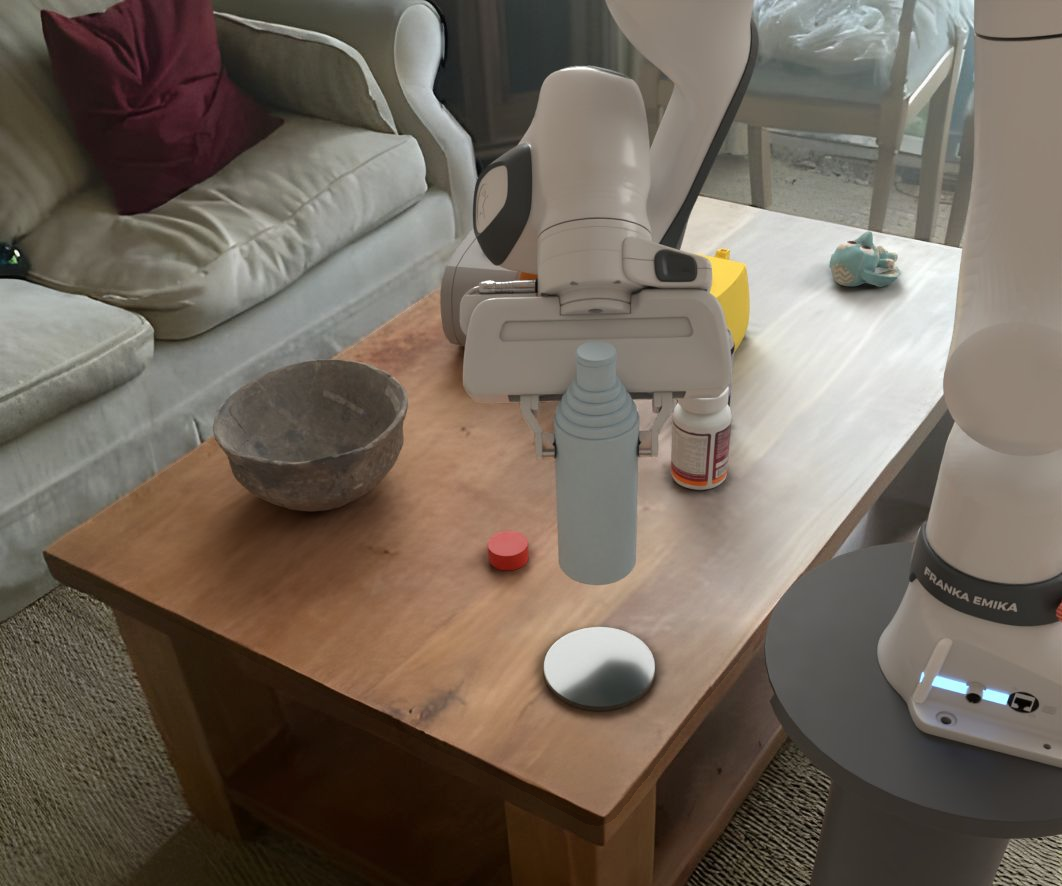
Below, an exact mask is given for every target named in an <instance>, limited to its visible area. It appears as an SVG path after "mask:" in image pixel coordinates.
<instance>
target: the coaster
mask: <svg viewBox="0 0 1062 886" xmlns="http://www.w3.org/2000/svg"><path fill="white" fill-rule="evenodd" d="M543 676H544V679H545V683H546V685H547V687H548V688H549V690H550V691H551V693H552V694H553V695H554V696H556V697H557V698H558V699H559V700H560V701H562V702H564V703H565V704H567V705H569V706H571V707H574V708H578V709H581V710H586V711H594V712H595V711H596V712H607V711H613V710H618V709H622V708H625V707H627V706H630V705H632V704H634V703H635V702H637V701H639V700H641V698H642V697H643V696H645V694H647V692H649V690H650V689H651V687H652V685H653V683H654V680H655V677H656V661H655V657H654V655H653V652H652V650H651V649H650V648H649V647H648V645H647V644H646V643H645V642H644V641H643V640H642V639H641V638H639V637H638V636H636V635H634V634H632V633H631V632H628V631H626V630H622V629H620V628H615V627H610V626H589V627H584V628H580V629H576V630H573V631H571V632H569V633H566V634H564V635H562V636H561V637H560V638H558V639H557V640H556V641H555V642H554V643H553V644H552V645H551V646H550V648H549V649H548V650H547V652H546V654H545V657H544V660H543Z"/></svg>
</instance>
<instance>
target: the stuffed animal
mask: <svg viewBox="0 0 1062 886" xmlns="http://www.w3.org/2000/svg"><path fill="white" fill-rule="evenodd" d="M873 237H874V235H873V232H872V231H871V230H870V231H869V230H868V231H865V232H864V233H862V234H861V235H860V236H859V237H857V238H855V239H854V240H847V241H845V242H843V243H841V244H839V245H838V246H837V247H836V249H835V251H834V252H833V253H832V254H831V255H830V259H829V264H828V265H829V269H830V272H831V275H832V278H833V280H834V281H835V282H836V283H837V284H838V285H840V286H843V287H858V286H861V285H863V284H866V283H867V284H869V285H873V286H875V287H878V288H883V287H886V286H889V285H892V284H893V283H894V282H895V281H896V280H897V279H898V277H899V276H900V275H901V270H900V269H899V267H898V266H896V267H895V264H896V262H897V261H898V259H899V255H898V254H897V253H896V252H890V251H889V250H888V249H886V248H884V247H883V246H882V245H877V246H876V245H875V244H874V238H873ZM879 268H881V269H882V268H883V269H887V270H885V271H882V272H879V273H877V272H876V270H877V269H879Z"/></svg>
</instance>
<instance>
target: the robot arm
mask: <svg viewBox="0 0 1062 886" xmlns="http://www.w3.org/2000/svg"><path fill="white" fill-rule="evenodd" d="M604 2H605V4H606V6H607V9H608V11H609V13H610V15H611V17H612V18H613V20H614V22H615V23H616V25H617V27H618V28H619V30H620V31H621V32H622V34H623V35H624V36H625V38H626V39H627V40H628V42H629V43H630V44H631V45H632V47H634V49H635V50H637V52H638V53H640V55H642V57H644V58H645V59H646V60H648V62H650V63H651V64H652V65H654V66H655V67H656V68H657V69H659V71H660V72H662V73H663V74H664V75H665V76H666V77H667V78H668V79H669V80H670V81H671V82H672V83H673V90H672V93H671V96H670V99H669V101H668V104H667V105H666V108H665V111H664V113H663V116H662V119H661V121H660V123H659V125H658V128H657V131H656V134H655V136H654V138H653V141H652V143H651V146H650V135H649V123H648V117H647V111H646V105H645V101H644V98H643V95H642V92H641V90H640V86H639V85H638V84H637V82H636V81H635V80H634V79H632V78H631V77H630V76H628V75H626V74H623V73H621V72H618V71H615V70H612V69H608V68H604V67H599V66H595V65H574V66H573V65H571V66H566V67H563V68H560V69H559V70H556V71H553V72H551V73H550V74H549V75H548V76H547V77H546V78H545V79H544V80H543V83H542V85H541V87H540V91H539V95H538V101H537V105H536V109H535V112H534V116H533V118H532V120H531V123H530V125H529V126H528V129H527V130H526V131H525V133H524V135H523V136H522V138H521V139H520V141H519V142H518V144H517V145H516V146H514V147H512V148H510V149H509V150H508V151H506V152H504V153H503V154H502V155H500V156H498V158H496V159H495V160H493V161H492V162H491V163H490V164H488V165H487V166H486V167H485V168H484V169H482V171H481V172H480V173H479V175H478V176H477V179H476V182H475V186H474V192H473V200H472V229H474V234H475V236H476V239H477V241H478V243H479V245H480V247H481V249H482V251H483V253H484V254H485V256H486V257H487V258H488V259H489V260H490V261H491V262H492V263H493V264H494V265H495V266H500V267H503V268H505V269H508V270H512V271H518V272H523V273H529V274H535V275H537V278H536V279H534V280H533V279H528V280H513V281H506V282H496V281H483V282H480V283H479V286H477V287H474V288H472V289H470V290H468V291H467V292H466V293H465V294H464V296H463V297H462V299H461V302H460V327H461V330H462V332H463V333H464V335H465V336H466V344H465V347H464V354H463V363H462V386H463V389H464V391H465V393H466V394H467V395H468V396H469V397H470V398H471V399H472V400H473V401H474V402H475V403H476V404H505V403H507V404H509V403H519V404H520V407H519V409H520V414H521V417H522V419H523V421H524V422H525V424H526V425H527V427H528V430H530V432H531V433H532V435H533V437H534V440H535V441H534V442H535V443H534V445H535V446H534V447H535V448H534V449H535V459H536V460H537V461H538V460H555V435H554V432H544V430H543V428H542V426H541V425H540V423H539V421H538V420H537V418H536V417H537V416H538V417H539V416H540V414H541V403H549V402H552V403H553V402H555V403H556V402H558V403H559V402H560V400H561V399H562V397H563V395H564V394H565V392H567V389H568V387H569V386H570V385H571V384H572V382H573V380H574V378H575V377H576V376H577V363H576V361H575V359H576V356H575V353H576V351H577V349H578V347H579V346H580V345H582V344H584V343H587V342H592V341H602V342H606V343H609V344H611V345H613V346H614V347H615V349H616V354H617V360H616V376H617V377H618V378H619V380H620V383H622V384H623V386H624V387H625V389H626V391H627V392H628V393H629V394H630V396H631V399H632V400H633V401H646V400H651V405H652V413H653V414H657V417H655V419H654V421H653V423H652V425H651V427H650V429H649V430H639V448H638V457H639V458H658V457H659V450H660V449H659V448H660V447H659V445H660V444H659V434H660V433H661V431H662V429H663V427H664V426H665V424H666V422H667V420H668V418H669V417H670V416H671V413H672V410H673V400H678V399H696V398H717V397H719V396H720V395H721V394H722V393H723V392H724V391H725V390H726V388H727V387H728V386H729V384H730V381H731V377H732V378H733V373H732V362H731V351H730V342H729V335H728V329H727V324H726V319H725V315H724V311H723V309H722V306H721V304H720V303H719V301H718V300H717V299H716V297H715V296H713V295H712V294H711V293H710V290H711V286H712V266H711V262H710V261H709V260H708V259H707V258H705V257H703V256H700V255H701V254H700V255H696V254H697V253H694V254H692V253H693V252H688V251H685V250H681V249H682V245H683V241H684V238H685V234H686V230H687V226H688V222H689V219H690V217H691V214H692V211H693V209H694V207H695V204H696V202H697V200H698V199H699V196H700V195H701V192H702V189H703V187H704V185H705V183H706V181H707V179H708V176H709V175H710V173H711V170H712V168H713V166H714V163H715V161H716V160H717V158H718V155H719V153H720V151H721V149H722V146H723V144H724V142H725V140H726V138H727V135H728V133H729V131H730V129H731V127H732V125H733V123H734V121H735V118H736V116H737V114H738V111H739V109H740V107H741V105H742V102H743V100H744V97H745V95H746V93H747V89H748V87H749V85H750V82H751V80H752V76H753V74H754V70H755V67H756V63H757V59H758V54H759V45H760V44H759V43H760V42H759V40H760V39H759V31H758V27H757V24H756V23H755V21H754V19H753V17H752V12H753V7H754V3H755V0H604ZM973 68H974V69H973V78H974V79H973V93H974V94H973V108H974V109H973V111H974V112H973V164H972V165H973V166H972V177H971V185H970V194H969V200H968V207H967V211H966V212H967V213H966V220H965V225H964V227H965V228H964V232H963V240H962V246H961V253H960V254H961V255H960V263H959V271H958V279H957V280H958V281H957V289H956V299H955V310H954V318H953V319H954V320H953V321H954V322H953V328H952V335H951V341H950V344H949V350H948V354H947V357H946V358H947V359H946V361H945V368H944V371H943V372H944V373H943V377H942V378H943V379H942V380H943V381H942V389H943V390H942V391H943V398H944V402H945V405H946V408H947V411H948V412H949V415H950V417H951V418H952V419H953V421H954V422H953V425H952V428H951V430H950V432H949V434H948V437H947V440H946V443H945V446H944V451H943V455H942V459H941V462H940V467H939V471H938V475H937V478H936V479H937V480H936V482H935V483H936V484H935V488H934V490H933V491H934V492H933V496H932V501H931V504H930V507H929V512H928V513H927V515H926V517H925V519H924V520H923V522H922V524H920V527H919V529H918V531H917V533H916V537H915V540H914V542H915V544H914V548H913V552H912V557H911V561H910V566H911V568H910V574H909V580H910V583H909V585H908V588H907V590H906V593H905V595H904V597H903V600H902V602H901V604H900V606H899V608H898V610H897V612H896V614H895V615H894V617H893V619H892V620H891V622H890V623H889V625H888V626H887V627H886V629H885V630H884V632H883V633H882V635H881V637H880V639H879V643H878V648H877V656H878V661H879V665H880V668H881V670H882V672H883V674H884V676H885V677H886V679H887V680H888V682H889V683H890V684H891V686H892V687H893V688H894V689H895V690H896V691H897V692H898V693H899V694H900V696H901V697H902V698H903V699H904V700H905V702H906V703H907V705H908V708H909V711H910V714H911V717H912V719H913V722H914V723H915V725H916V726H917V727H918V728H919V729H920V730H921V731H923V732H925V733H928V734H931V735H935V736H939V737H943V738H947V739H951V740H954V741H958V742H962V743H966V744H970V745H974V746H978V747H982V748H986V749H990V750H994V751H997V752H1001V753H1005V754H1009V755H1013V756H1017V757H1021V758H1025V759H1029V760H1033V761H1037V762H1040V763H1044V764H1048V765H1052V766H1056V767H1060V768H1062V0H973ZM476 292H479V294H480V295H472V294H474V293H476ZM536 292H537V297H536ZM943 723H947V724H943Z"/></svg>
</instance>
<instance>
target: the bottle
mask: <svg viewBox="0 0 1062 886" xmlns="http://www.w3.org/2000/svg"><path fill="white" fill-rule="evenodd" d="M575 356H576V359H575V361H576V363H577V376H576V377H575V378H574V380H573V382H572V384H571V385H570V386H569V387H568V389H567V392H565V394H564V395H563V397H562V399H561V400H560V401H559V402H558V403H557V405H556V409H555V413H554V414H553V433H554V435H555V459H554V467H555V471H554V472H555V499H556V521H557V522H556V524H557V525H556V526H557V529H556V530H557V551H558V552H557V553H558V555H557V558H558V565H559V568H560V569H561V572H563V574H565V576H567V577H568V578H569V579H571V580H573V581H575V582H578V583H580V584H584V585H588V586H589V585H590V586H605V585H611V584H613V583H617V582H619V581H622V580H623V579H625V578H626V577H628V575H630V574H631V573H632V572H633V570H634V568H635V566H636V562H637V534H638V533H637V532H638V531H637V529H638V496H639V495H638V492H639V489H638V488H639V458H640V457H638V448H639V431H640V414H639V411H638V407H637V404H636V402H635V400H632V399H631V396H630V394H629V393H628V392H627V391H626V389H625V387H624V386H623V384H622V383H620V380H619V378H618V377H617V376H616V360H617V354H616V349H615V347H614V346H613V345H611V344H609V343H606V342H602V341H592V342H587V343H584V344H582V345H580V346H579V347H578V349H577V351H576V353H575Z"/></svg>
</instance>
